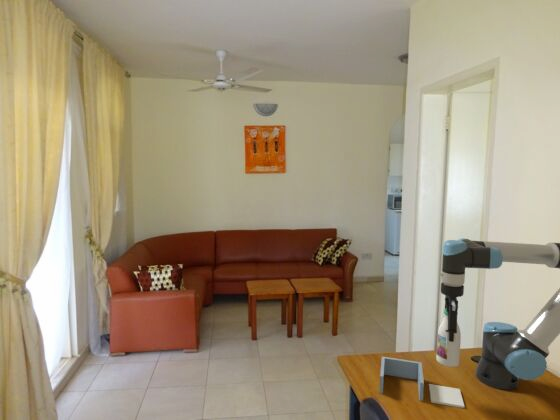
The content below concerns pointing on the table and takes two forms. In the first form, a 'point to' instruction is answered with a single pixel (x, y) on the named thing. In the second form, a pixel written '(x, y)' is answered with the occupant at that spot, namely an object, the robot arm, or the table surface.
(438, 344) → the milk bottle
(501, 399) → the table surface
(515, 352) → the robot arm
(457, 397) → the tile
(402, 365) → the grey u-shaped piece
